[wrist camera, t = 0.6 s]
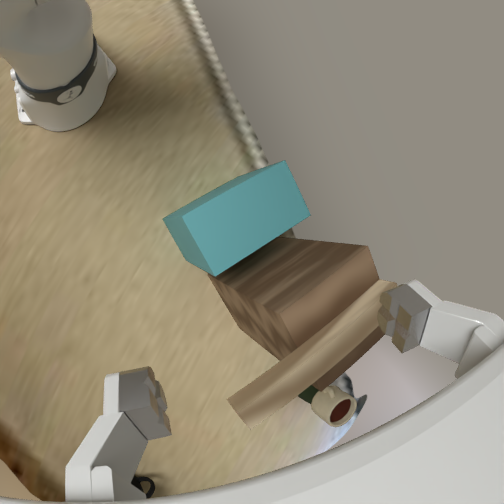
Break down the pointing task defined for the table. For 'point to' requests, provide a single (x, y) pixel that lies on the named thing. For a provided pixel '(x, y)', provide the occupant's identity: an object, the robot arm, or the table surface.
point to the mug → (136, 483)
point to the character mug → (330, 404)
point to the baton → (310, 359)
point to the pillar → (298, 294)
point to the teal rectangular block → (237, 218)
